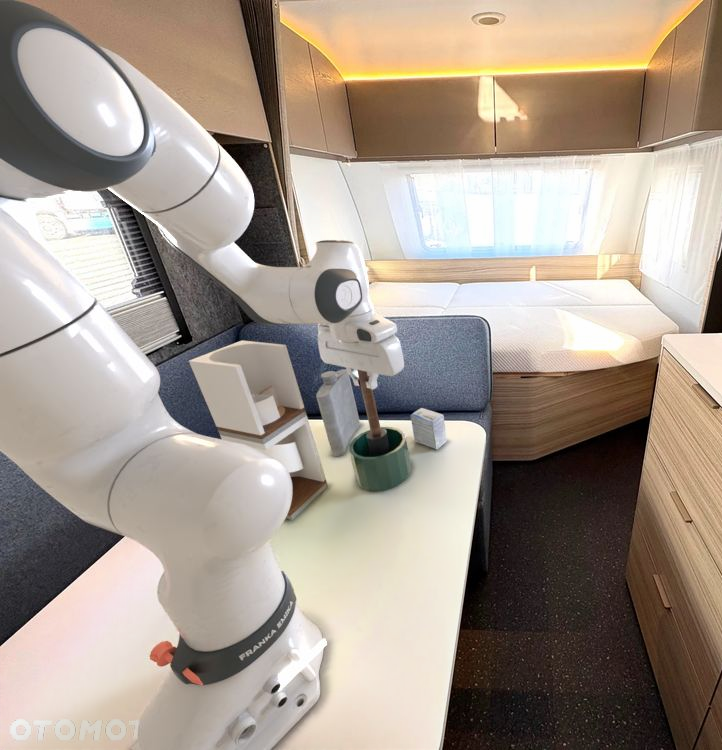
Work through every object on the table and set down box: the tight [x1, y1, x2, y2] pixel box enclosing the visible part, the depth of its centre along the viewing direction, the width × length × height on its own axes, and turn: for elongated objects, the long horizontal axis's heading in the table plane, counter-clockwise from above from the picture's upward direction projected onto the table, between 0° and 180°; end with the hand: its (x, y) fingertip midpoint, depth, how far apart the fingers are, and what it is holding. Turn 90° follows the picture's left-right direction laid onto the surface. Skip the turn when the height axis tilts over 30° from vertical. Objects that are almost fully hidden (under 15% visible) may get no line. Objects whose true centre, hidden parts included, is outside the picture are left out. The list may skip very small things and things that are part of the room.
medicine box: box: [410, 407, 448, 451], centre depth 102 cm, size 8×4×9 cm, turn 58°
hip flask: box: [315, 368, 361, 457], centre depth 102 cm, size 16×4×20 cm, turn 1°
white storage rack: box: [188, 340, 328, 521], centre depth 79 cm, size 11×11×35 cm
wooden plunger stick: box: [357, 370, 390, 457], centre depth 85 cm, size 4×4×22 cm
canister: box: [348, 426, 412, 492], centre depth 91 cm, size 13×13×9 cm
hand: (366, 386), depth 83 cm, fingers closed on wooden plunger stick, 2 cm apart
